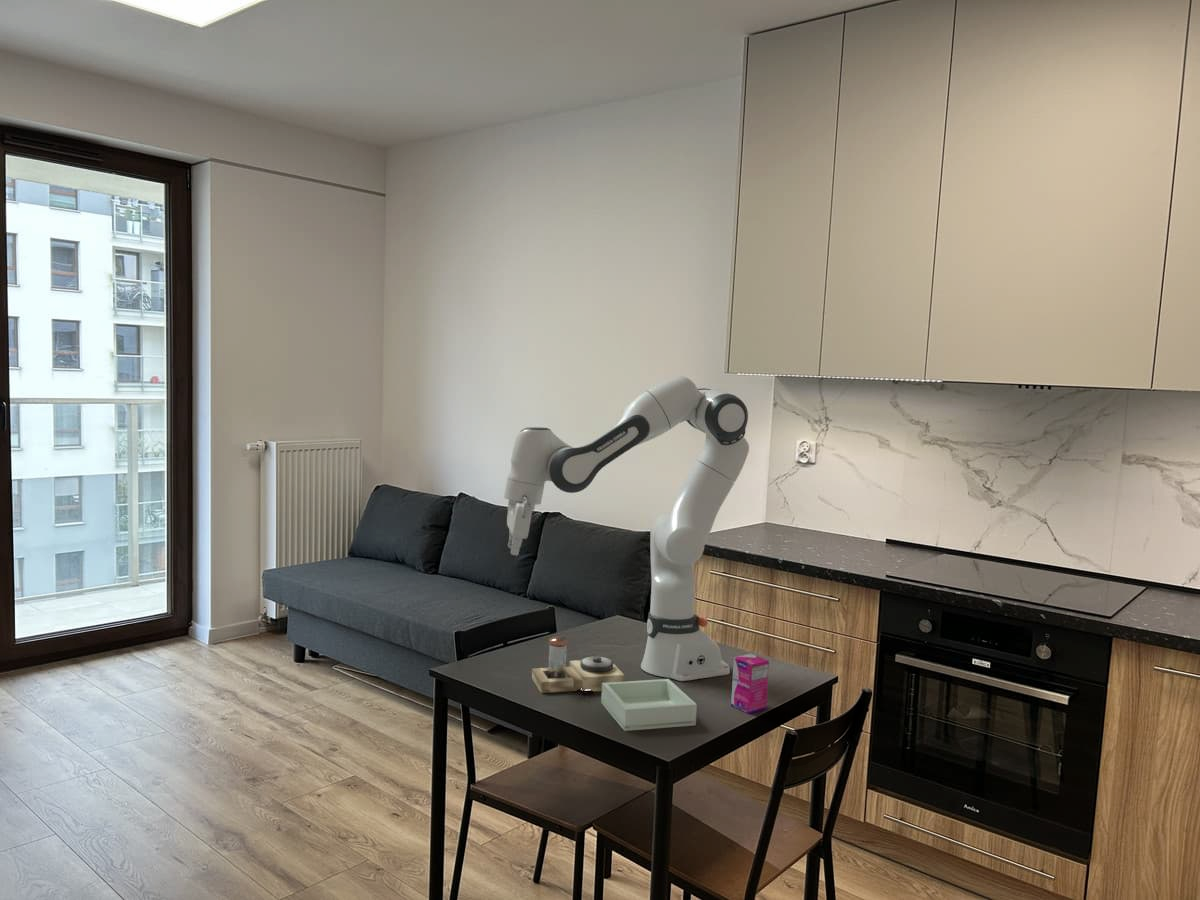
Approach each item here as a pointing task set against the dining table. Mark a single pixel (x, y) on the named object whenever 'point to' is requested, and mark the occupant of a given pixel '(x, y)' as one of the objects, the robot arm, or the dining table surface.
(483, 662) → the dining table surface
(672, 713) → the tray
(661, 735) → the dining table surface
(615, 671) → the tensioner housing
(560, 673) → the lock pin
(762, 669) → the supplement box
